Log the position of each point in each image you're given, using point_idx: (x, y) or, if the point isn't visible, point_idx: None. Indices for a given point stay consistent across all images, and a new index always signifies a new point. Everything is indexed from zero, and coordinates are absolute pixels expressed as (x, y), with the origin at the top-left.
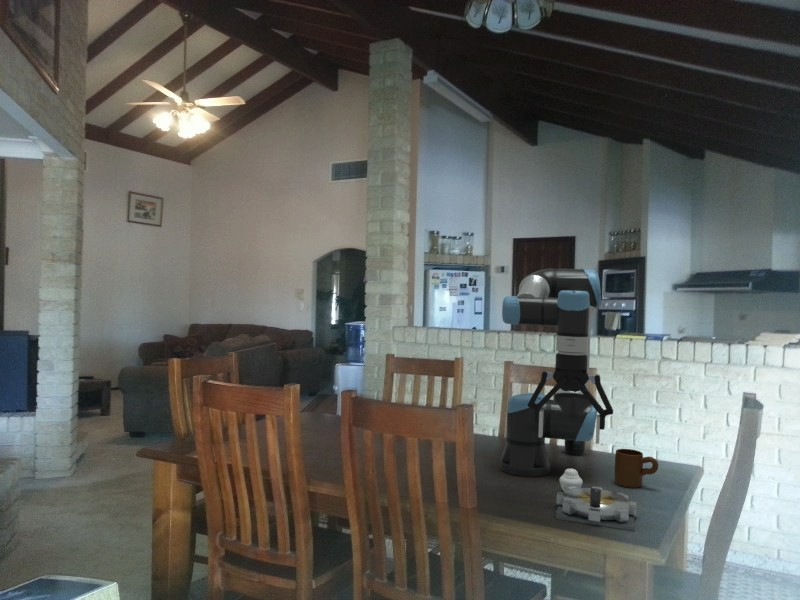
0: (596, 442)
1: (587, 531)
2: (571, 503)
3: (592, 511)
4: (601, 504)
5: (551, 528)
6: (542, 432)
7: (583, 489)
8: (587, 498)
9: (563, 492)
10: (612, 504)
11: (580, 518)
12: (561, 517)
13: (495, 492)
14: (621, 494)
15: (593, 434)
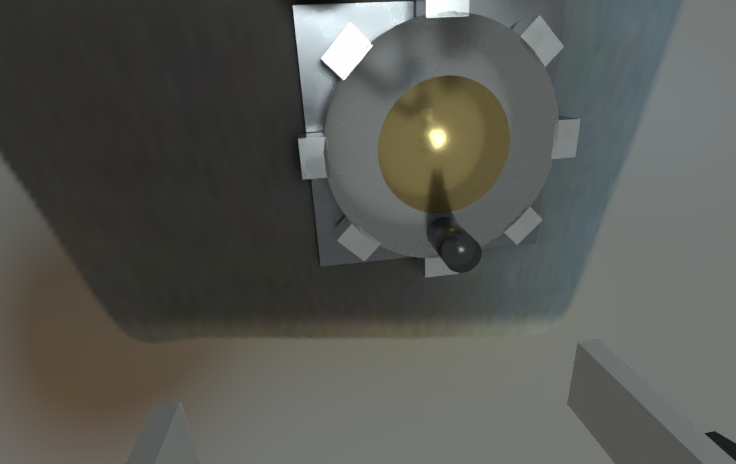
0: (576, 407)
1: (414, 301)
2: (367, 247)
3: (435, 275)
4: (462, 208)
5: (324, 328)
6: (178, 446)
7: (392, 54)
8: (415, 171)
9: (321, 141)
10: (497, 188)
11: (392, 251)
12: (338, 264)
13: (27, 102)
14: (539, 46)
15: None
